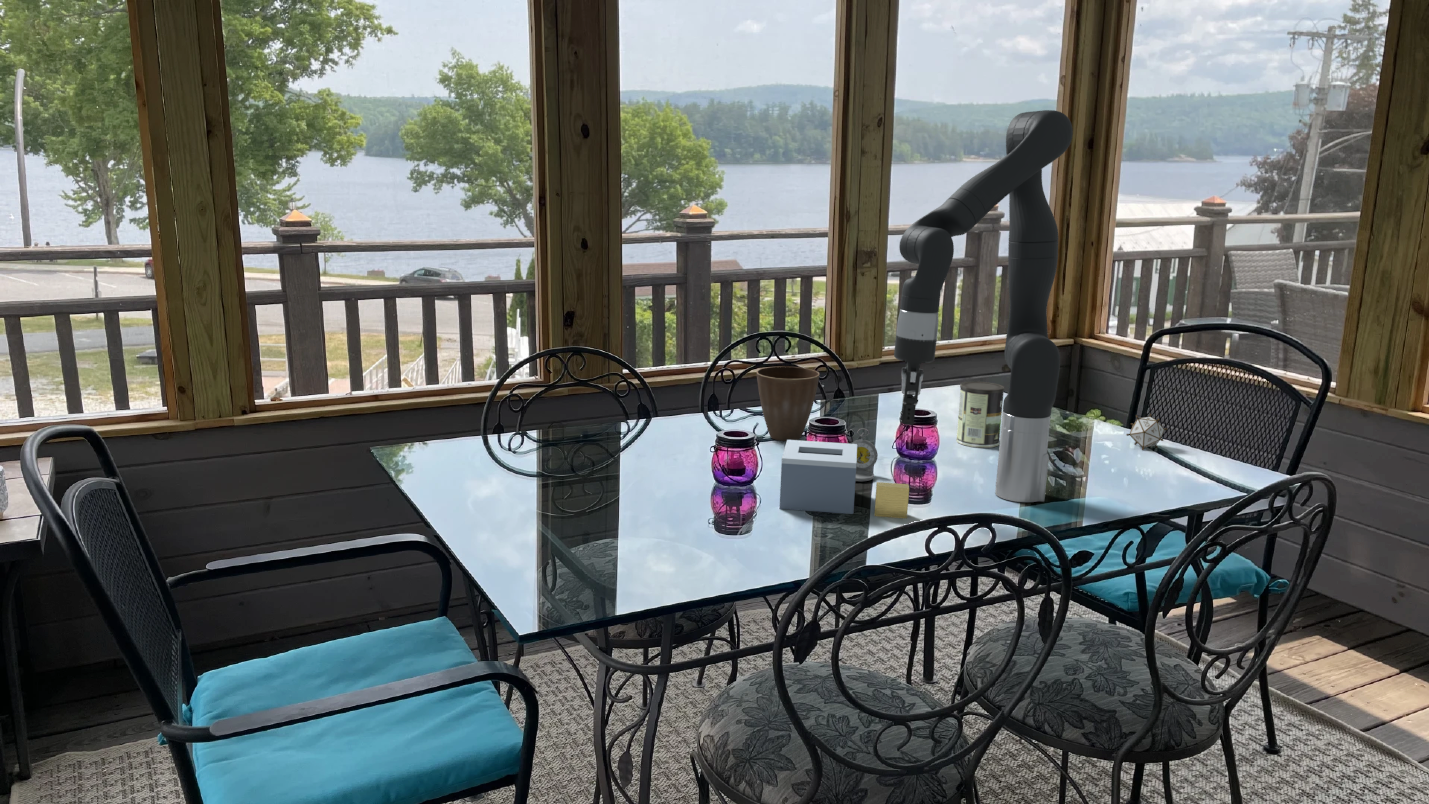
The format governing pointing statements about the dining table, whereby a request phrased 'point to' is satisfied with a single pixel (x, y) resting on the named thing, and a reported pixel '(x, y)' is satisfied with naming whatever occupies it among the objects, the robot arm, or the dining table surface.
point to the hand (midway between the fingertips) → (907, 419)
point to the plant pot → (787, 399)
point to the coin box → (818, 476)
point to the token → (891, 500)
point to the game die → (1146, 431)
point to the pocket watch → (861, 467)
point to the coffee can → (980, 414)
